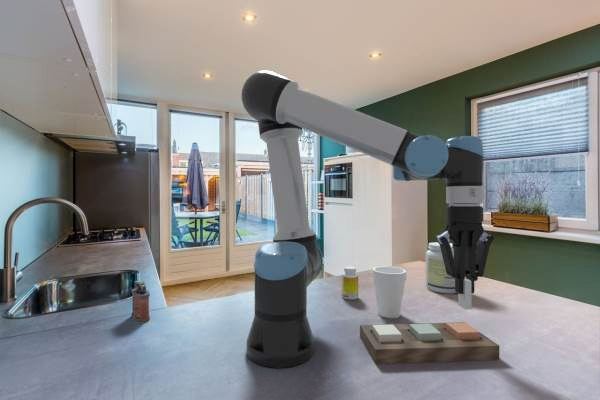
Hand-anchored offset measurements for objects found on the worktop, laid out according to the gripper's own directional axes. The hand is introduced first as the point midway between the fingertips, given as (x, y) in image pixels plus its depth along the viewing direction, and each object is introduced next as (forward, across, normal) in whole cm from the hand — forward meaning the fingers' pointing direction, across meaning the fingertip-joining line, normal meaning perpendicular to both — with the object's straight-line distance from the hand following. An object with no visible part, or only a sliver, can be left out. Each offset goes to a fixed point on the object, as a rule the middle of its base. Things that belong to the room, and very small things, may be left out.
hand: (464, 307), depth 71 cm
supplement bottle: (+9, -19, +35) cm, 41 cm away
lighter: (+8, -82, +21) cm, 85 cm away
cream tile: (+7, -18, 0) cm, 20 cm away
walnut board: (+9, -10, 0) cm, 13 cm away
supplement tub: (+10, +18, +42) cm, 47 cm away
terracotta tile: (+7, 0, 0) cm, 7 cm away
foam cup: (+9, -11, +20) cm, 25 cm away
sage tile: (+7, -10, 0) cm, 12 cm away
